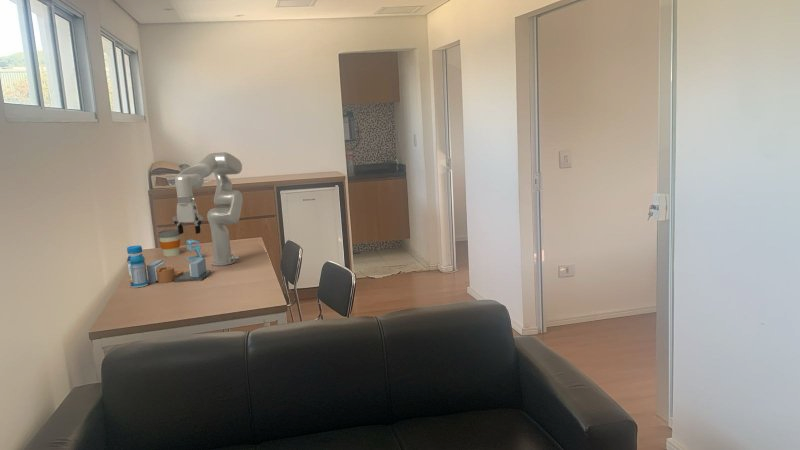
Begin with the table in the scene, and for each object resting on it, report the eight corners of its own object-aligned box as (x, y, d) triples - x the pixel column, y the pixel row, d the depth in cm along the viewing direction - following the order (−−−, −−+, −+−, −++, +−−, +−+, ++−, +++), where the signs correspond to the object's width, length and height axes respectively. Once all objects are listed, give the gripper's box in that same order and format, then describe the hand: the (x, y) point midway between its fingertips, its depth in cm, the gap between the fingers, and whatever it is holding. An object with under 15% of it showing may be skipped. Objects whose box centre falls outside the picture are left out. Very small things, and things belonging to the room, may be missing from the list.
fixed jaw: (166, 276, 327) (164, 259, 326) (157, 282, 314) (155, 265, 313) (158, 276, 327) (156, 260, 326) (148, 283, 314) (146, 265, 313)
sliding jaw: (206, 270, 327) (205, 257, 326) (198, 276, 314) (197, 263, 313) (198, 271, 327) (196, 258, 326) (190, 277, 314) (188, 263, 313)
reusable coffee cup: (174, 252, 394) (171, 229, 391) (186, 253, 386) (183, 230, 384) (156, 256, 384) (153, 232, 381) (168, 258, 376) (165, 233, 374)
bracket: (170, 283, 311) (169, 270, 310) (155, 284, 312) (153, 270, 311) (186, 274, 329) (184, 262, 328) (171, 275, 330) (170, 262, 329)
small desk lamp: (203, 258, 367) (201, 239, 365) (189, 261, 363) (187, 241, 361) (200, 257, 374) (197, 237, 372) (186, 259, 369) (183, 239, 367)
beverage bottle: (140, 288, 304) (134, 248, 301) (126, 287, 307) (121, 248, 304) (152, 283, 312) (147, 244, 309) (139, 283, 315) (133, 244, 312)
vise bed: (211, 272, 328) (210, 270, 328) (201, 280, 313) (201, 277, 312) (185, 274, 329) (185, 271, 328) (174, 282, 313) (174, 279, 313)
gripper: (204, 198, 316) (208, 231, 319) (174, 199, 320) (178, 232, 323) (196, 200, 309) (200, 234, 311) (166, 201, 313) (170, 235, 316)
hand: (189, 233), depth 317 cm, fingers open, 9 cm apart
